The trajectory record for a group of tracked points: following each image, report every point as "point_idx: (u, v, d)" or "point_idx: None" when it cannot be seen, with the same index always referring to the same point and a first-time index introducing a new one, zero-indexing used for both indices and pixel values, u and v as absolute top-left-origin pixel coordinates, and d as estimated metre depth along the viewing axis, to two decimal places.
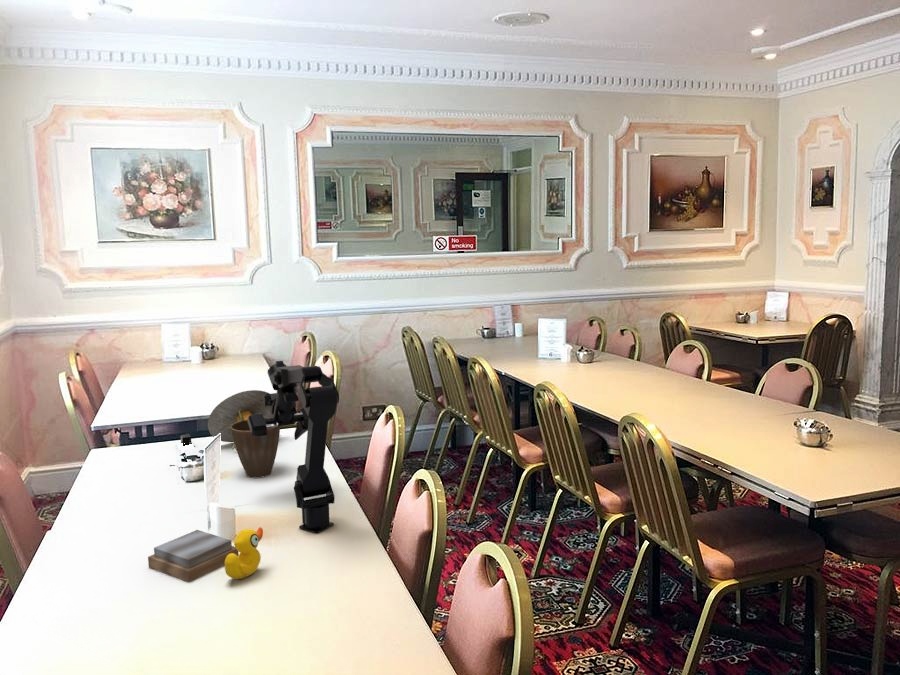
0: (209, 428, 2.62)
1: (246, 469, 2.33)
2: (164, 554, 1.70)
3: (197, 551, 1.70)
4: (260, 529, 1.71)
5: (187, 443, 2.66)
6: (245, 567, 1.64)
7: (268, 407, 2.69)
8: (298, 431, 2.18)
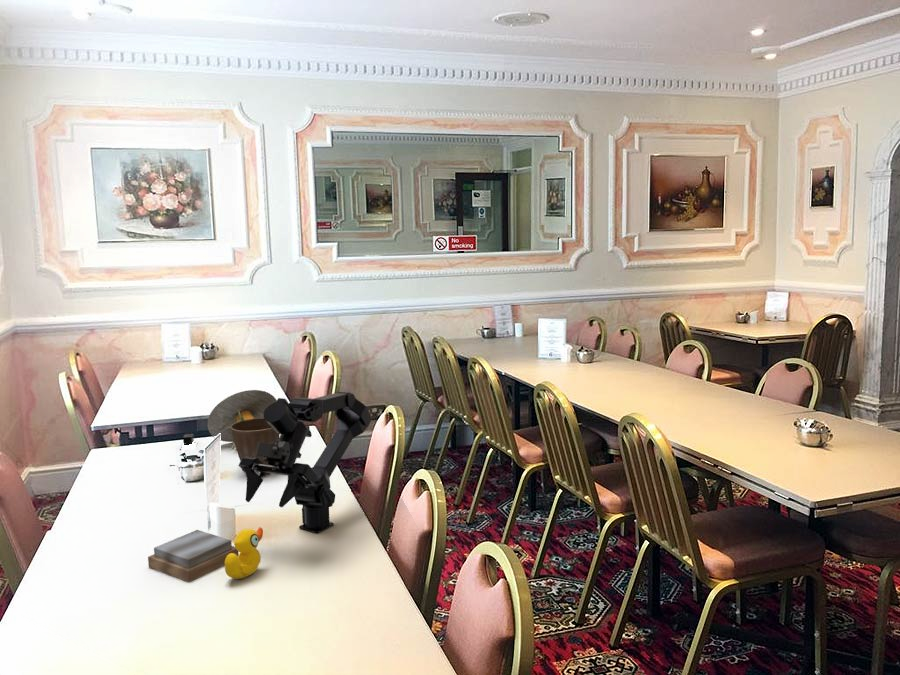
0: (209, 427, 2.62)
1: None
2: (164, 554, 1.70)
3: (197, 551, 1.70)
4: (260, 529, 1.71)
5: (188, 443, 2.66)
6: (245, 567, 1.64)
7: None
8: (255, 487, 1.78)
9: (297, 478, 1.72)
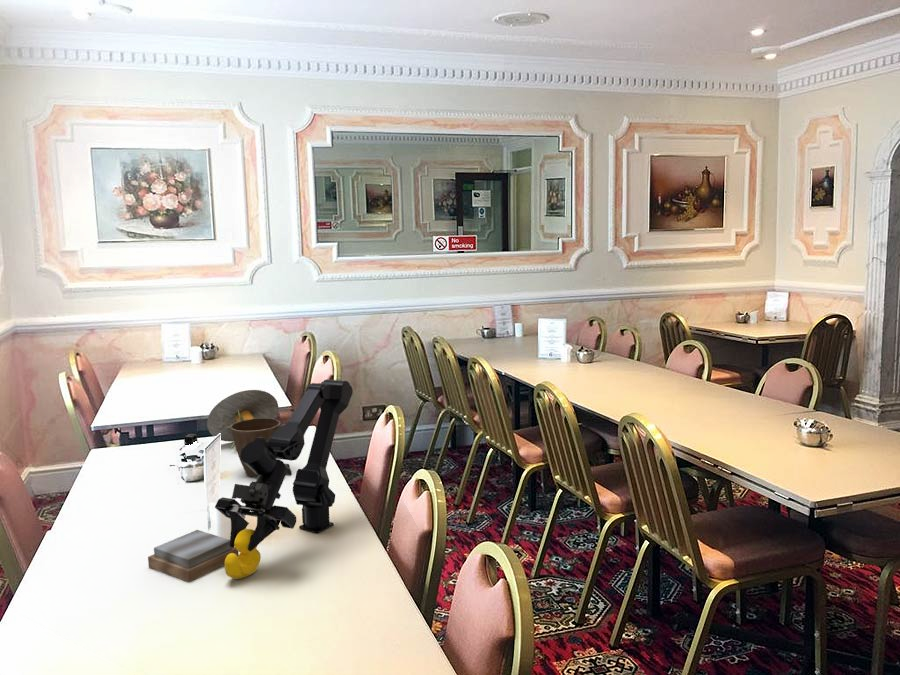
0: (209, 427, 2.63)
1: (246, 469, 2.33)
2: (164, 554, 1.70)
3: (197, 551, 1.70)
4: None
5: (188, 443, 2.66)
6: (245, 567, 1.64)
7: (268, 407, 2.70)
8: None
9: (267, 520, 1.66)
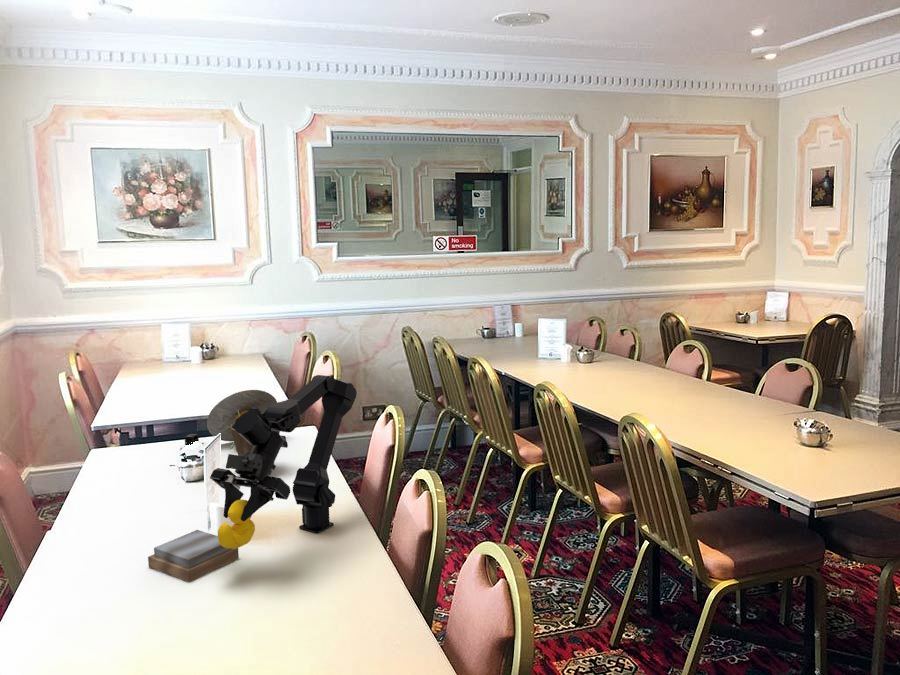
0: (209, 427, 2.63)
1: None
2: (164, 554, 1.70)
3: (197, 551, 1.70)
4: None
5: (188, 443, 2.66)
6: (239, 537, 1.64)
7: (267, 407, 2.70)
8: None
9: (260, 491, 1.65)
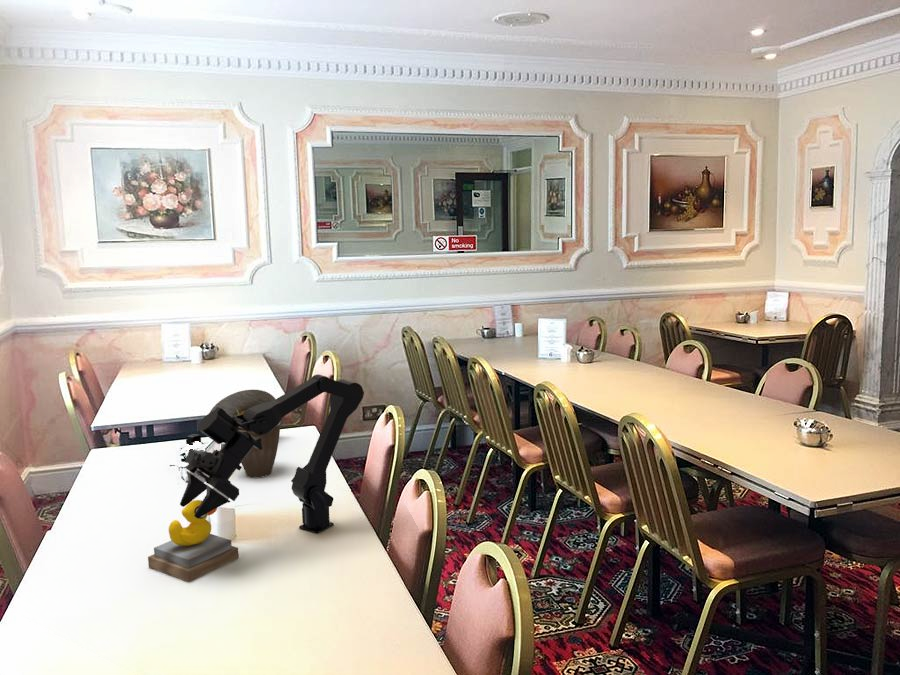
0: None
1: (246, 469, 2.33)
2: (164, 554, 1.70)
3: (197, 551, 1.70)
4: None
5: (189, 443, 2.66)
6: (186, 536, 1.70)
7: None
8: (195, 493, 1.78)
9: (212, 491, 1.68)
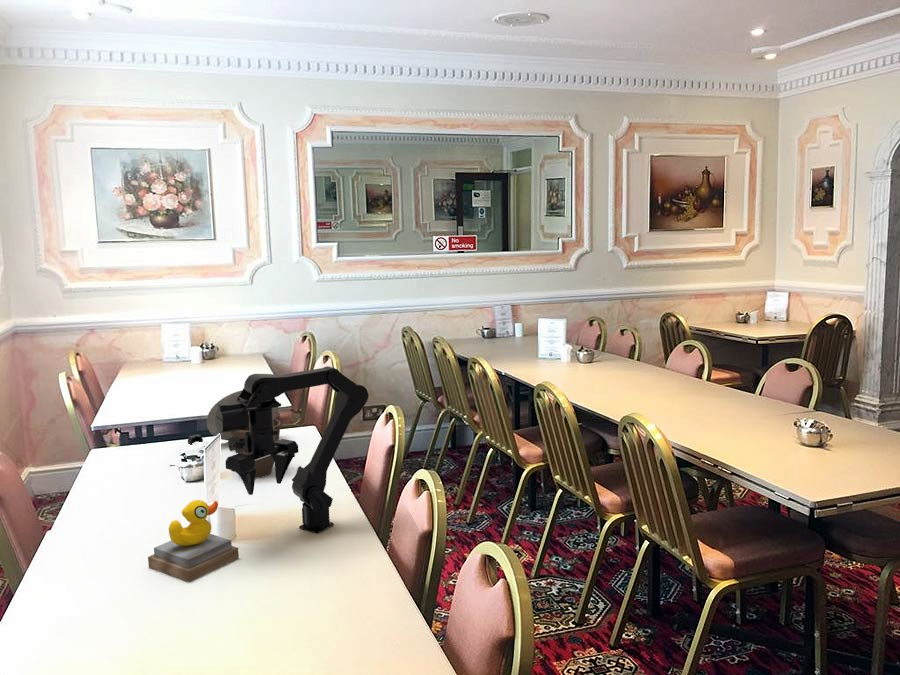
0: (208, 426, 2.64)
1: None
2: (164, 554, 1.70)
3: (197, 551, 1.70)
4: (214, 502, 1.76)
5: (189, 443, 2.66)
6: (186, 536, 1.70)
7: None
8: (281, 468, 1.88)
9: None
